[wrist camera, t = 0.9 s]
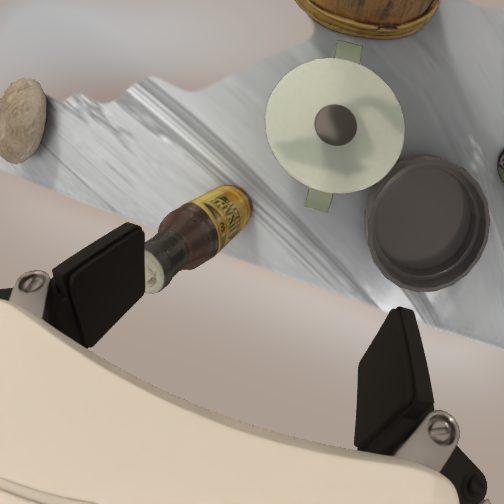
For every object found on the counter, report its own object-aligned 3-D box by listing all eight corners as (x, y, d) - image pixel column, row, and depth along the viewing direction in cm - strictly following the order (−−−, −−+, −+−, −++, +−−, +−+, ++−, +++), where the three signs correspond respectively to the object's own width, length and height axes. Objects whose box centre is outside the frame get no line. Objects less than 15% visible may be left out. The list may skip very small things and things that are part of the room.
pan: (489, 181, 26) (505, 189, 22) (448, 286, 34) (457, 303, 30) (383, 137, 29) (390, 139, 25) (349, 257, 37) (349, 273, 33)
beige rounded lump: (25, 75, 37) (-10, 79, 29) (65, 79, 36) (22, 82, 27) (16, 148, 46) (-17, 158, 38) (52, 166, 45) (14, 180, 36)
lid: (412, 82, 19) (435, 71, 13) (383, 206, 25) (396, 231, 19) (279, 50, 21) (261, 30, 16) (258, 173, 27) (235, 189, 22)
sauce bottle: (259, 223, 38) (193, 312, 21) (218, 230, 41) (135, 312, 23) (247, 175, 36) (161, 232, 19) (204, 186, 38) (104, 245, 21)
